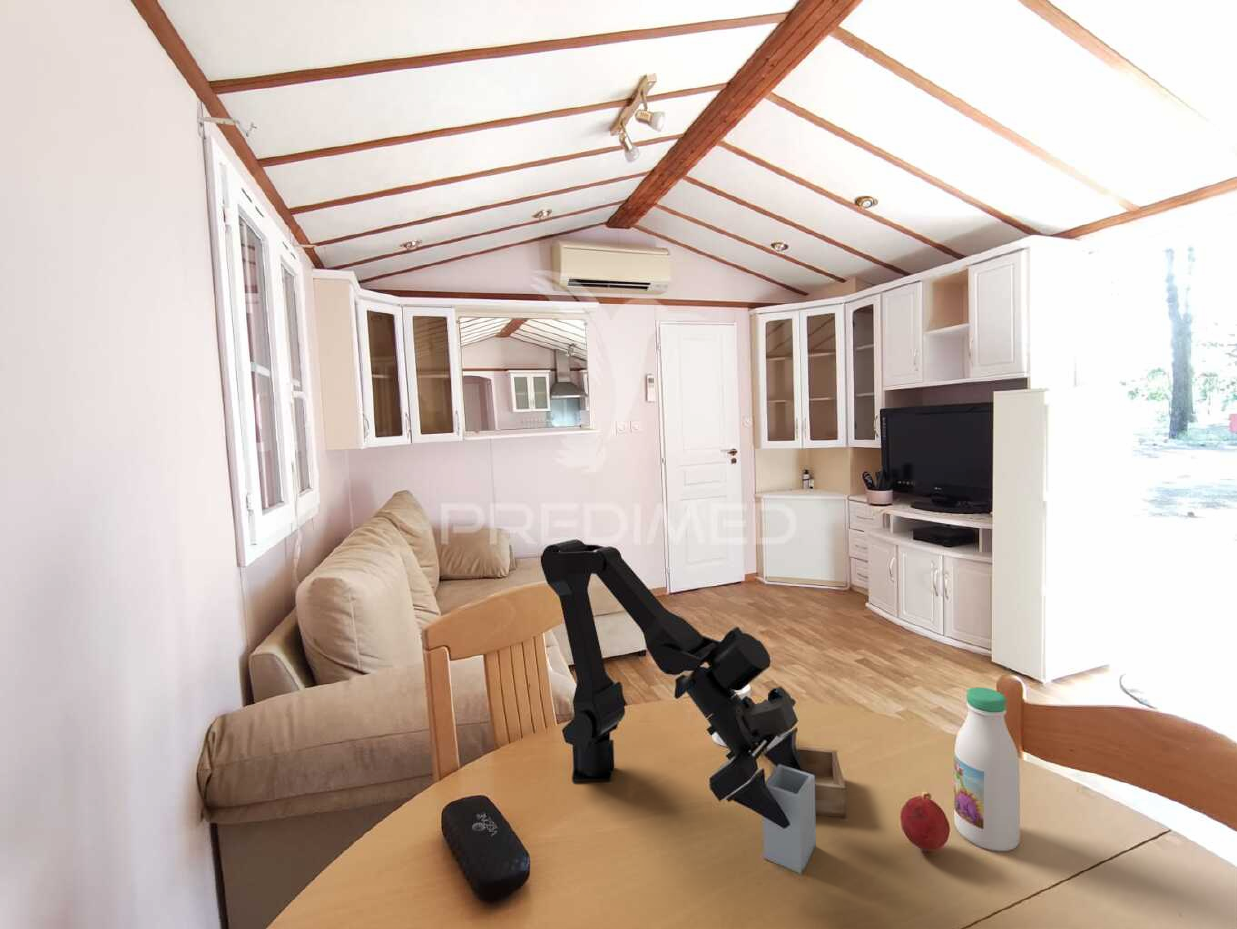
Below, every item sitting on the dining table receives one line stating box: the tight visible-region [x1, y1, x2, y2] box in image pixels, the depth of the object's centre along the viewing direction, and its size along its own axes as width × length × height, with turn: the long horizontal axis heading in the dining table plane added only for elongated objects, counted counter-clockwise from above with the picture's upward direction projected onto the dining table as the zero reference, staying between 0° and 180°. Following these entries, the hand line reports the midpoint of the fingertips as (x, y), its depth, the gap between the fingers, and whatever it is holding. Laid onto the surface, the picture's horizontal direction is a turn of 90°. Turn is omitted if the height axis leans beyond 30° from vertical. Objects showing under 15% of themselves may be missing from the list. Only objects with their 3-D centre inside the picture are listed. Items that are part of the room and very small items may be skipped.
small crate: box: [762, 764, 817, 875], centre depth 79 cm, size 5×6×10 cm
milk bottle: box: [953, 687, 1021, 852], centre depth 81 cm, size 8×8×20 cm
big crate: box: [769, 746, 847, 819], centre depth 92 cm, size 10×10×4 cm
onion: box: [899, 791, 951, 852], centre depth 78 cm, size 6×6×8 cm
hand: (799, 807), depth 78 cm, fingers open, 9 cm apart
